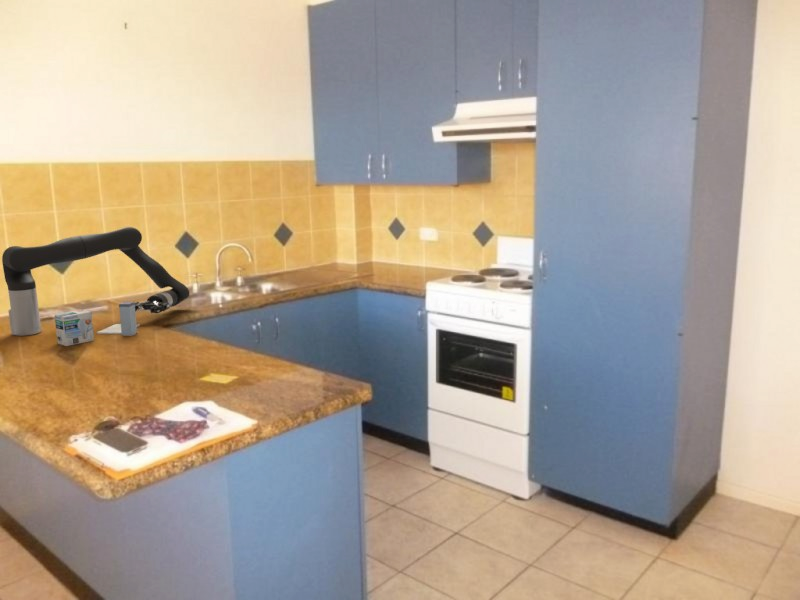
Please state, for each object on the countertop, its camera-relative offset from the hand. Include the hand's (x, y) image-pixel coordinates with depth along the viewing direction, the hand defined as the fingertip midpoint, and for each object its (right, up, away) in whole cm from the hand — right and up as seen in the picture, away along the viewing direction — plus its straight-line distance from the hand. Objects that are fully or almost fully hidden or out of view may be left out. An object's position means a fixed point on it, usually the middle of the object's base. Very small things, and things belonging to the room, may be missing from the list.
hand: (141, 310), depth 261 cm
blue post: (-1, -9, -9) cm, 12 cm away
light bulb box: (-16, -11, -19) cm, 27 cm away
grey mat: (-8, -7, -1) cm, 11 cm away
